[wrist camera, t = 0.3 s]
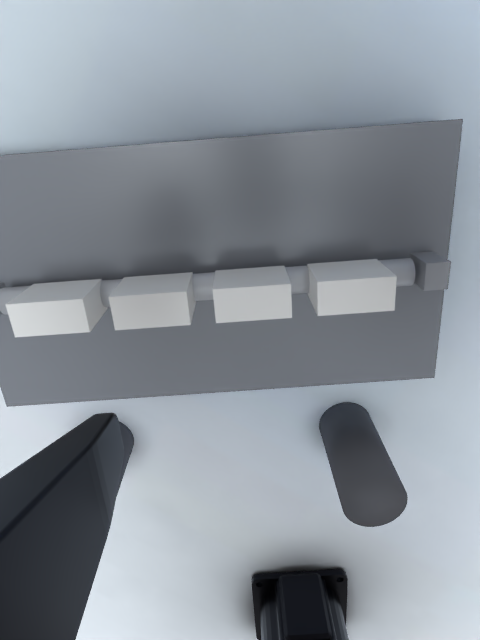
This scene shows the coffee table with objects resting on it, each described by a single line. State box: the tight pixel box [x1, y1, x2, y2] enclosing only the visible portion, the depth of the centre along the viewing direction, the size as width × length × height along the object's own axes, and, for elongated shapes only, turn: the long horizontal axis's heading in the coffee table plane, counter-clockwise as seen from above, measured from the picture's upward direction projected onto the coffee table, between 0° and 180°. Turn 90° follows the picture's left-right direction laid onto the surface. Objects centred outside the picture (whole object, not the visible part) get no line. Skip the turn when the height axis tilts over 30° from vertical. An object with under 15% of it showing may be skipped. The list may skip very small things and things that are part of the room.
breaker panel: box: [0, 119, 463, 407], centre depth 20 cm, size 12×22×4 cm, turn 94°
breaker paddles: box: [0, 258, 415, 337], centre depth 19 cm, size 1×18×3 cm, turn 95°
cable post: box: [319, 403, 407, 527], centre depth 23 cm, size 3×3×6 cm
